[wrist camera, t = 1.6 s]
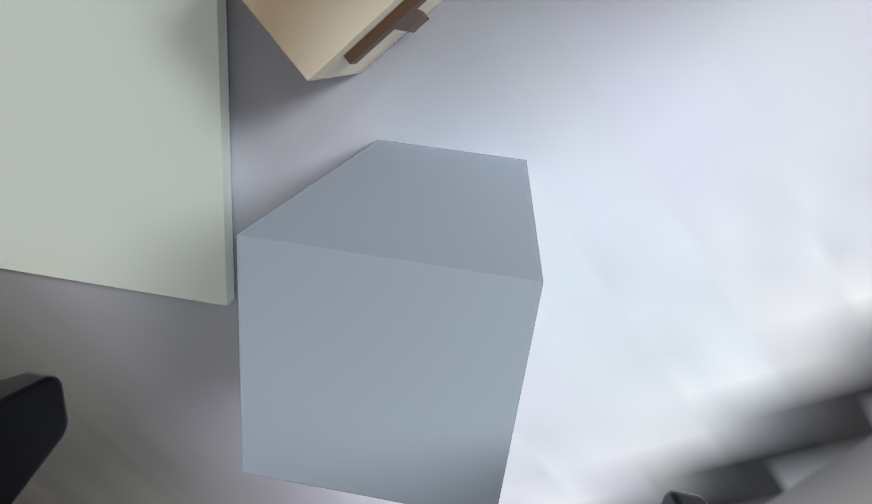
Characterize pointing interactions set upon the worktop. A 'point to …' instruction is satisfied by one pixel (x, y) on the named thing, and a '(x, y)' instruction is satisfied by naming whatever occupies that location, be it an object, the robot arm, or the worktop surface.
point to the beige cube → (338, 31)
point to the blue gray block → (390, 326)
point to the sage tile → (117, 144)
